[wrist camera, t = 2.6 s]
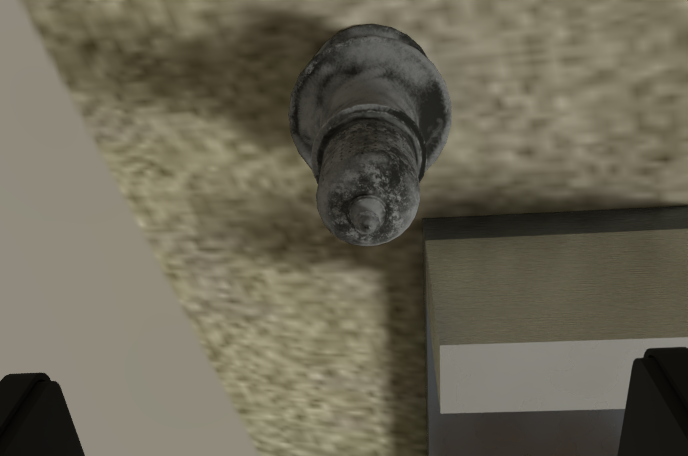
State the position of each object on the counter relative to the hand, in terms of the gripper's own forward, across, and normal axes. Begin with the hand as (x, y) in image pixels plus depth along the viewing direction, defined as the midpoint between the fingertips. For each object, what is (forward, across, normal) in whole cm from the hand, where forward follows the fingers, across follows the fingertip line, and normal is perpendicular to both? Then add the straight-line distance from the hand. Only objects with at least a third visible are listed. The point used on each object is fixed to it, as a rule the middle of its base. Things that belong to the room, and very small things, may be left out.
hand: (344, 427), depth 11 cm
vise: (+18, -9, +16) cm, 25 cm away
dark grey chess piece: (+18, -1, 0) cm, 18 cm away
